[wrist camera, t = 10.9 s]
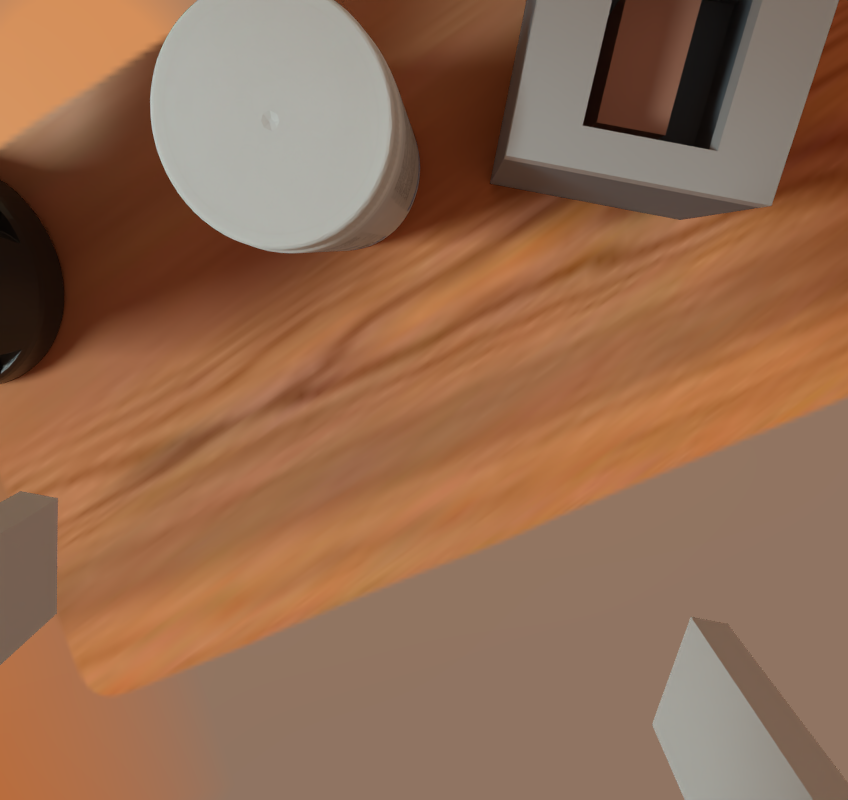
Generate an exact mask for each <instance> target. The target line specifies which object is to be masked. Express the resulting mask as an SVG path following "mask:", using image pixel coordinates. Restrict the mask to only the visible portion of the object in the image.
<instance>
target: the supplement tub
mask: <svg viewBox="0 0 848 800" xmlns="http://www.w3.org/2000/svg"><path fill="white" fill-rule="evenodd" d="M150 112H151V124H152V131H153V136H154V141H155V144H156V148H157V151H158V154H159V157H160V160H161V162H162V165H163V167H164V169H165V171H166V173H167V175H168V177H169V179H170V181H171V182H172V184H173V186H174V187H175V189H176V190H177V192H178V193H179V195H180V196H181V197H182V199H183V200H184V201H185V202H186V204H187V205H188V206H189V207H190V208H191V209H192V210H193V211H194V212H195V213H196V214H197V215H198V216H199V217H200V218H201V219H202V220H203V221H205V222H206V223H207V224H208V225H210V226H211V227H213V228H214V229H216V230H217V231H219V232H220V233H222V234H224V235H226V236H228V237H230V238H232V239H234V240H236V241H239V242H241V243H244V244H247V245H250V246H252V247H256V248H259V249H262V250H266V251H272V252H279V253H311V252H329V251H348V250H356V249H361V248H365V247H369V246H371V245H374V244H376V243H378V242H380V241H381V240H383V239H385V238H386V237H387V236H389V235H390V234H391V233H392V232H394V231H395V230H396V229H397V228H398V227H399V226H400V224H401V223H402V222H403V220H404V219H405V217H406V216H407V214H408V213H409V211H410V209H411V207H412V205H413V202H414V199H415V196H416V193H417V190H418V185H419V178H420V159H419V151H418V147H417V143H416V139H415V136H414V133H413V130H412V128H411V125H410V122H409V119H408V116H407V113H406V111H405V108H404V105H403V102H402V99H401V96H400V93H399V90H398V87H397V85H396V83H395V80H394V78H393V75H392V73H391V71H390V69H389V67H388V65H387V62H386V60H385V59H384V57H383V55H382V54H381V52H380V50H379V49H378V47H377V46H376V44H375V43H374V42H373V40H372V39H371V37H370V36H369V35H368V34H367V33H366V31H365V30H364V29H363V27H362V26H361V25H360V24H359V22H358V21H357V20H356V19H355V18H354V17H353V16H352V15H351V14H350V13H349V12H348V11H347V10H346V9H345V8H343V7H342V6H341V5H340V4H339V3H337V2H336V1H334V0H197V1H196V2H195V3H194V4H193V5H192V6H190V7H189V8H188V9H187V10H186V11H185V12H184V13H183V15H182V16H181V17H180V18H179V19H178V21H177V22H176V23H175V25H174V26H173V27H172V29H171V31H170V32H169V34H168V36H167V37H166V39H165V41H164V43H163V46H162V48H161V50H160V53H159V56H158V58H157V61H156V65H155V69H154V73H153V78H152V84H151V95H150Z"/></svg>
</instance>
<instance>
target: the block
mask: <svg viewBox="0 0 848 800" xmlns="http://www.w3.org/2000/svg"><path fill="white" fill-rule="evenodd" d="M701 1H702V0H619V1H618V3H617V4H616V6H615V7H614V9H613V10H612V12H611V13H610V15H609V16H608V20H607V24H606V28H605V32H604V36H603V41H602V45H601V49H600V53H599V58H598V62H597V66H596V70H595V75H594V79H593V83H592V87H591V92H590V96H589V100H588V104H587V109H586V113H585V117H584V121H583V126H588V127H593V128H598V129H604V130H609V131H614V132H619V133H625V134H630V135H635V136H640V137H645V138H651V139H656V140H658V139H659V138H661V137H663V136H665V135H666V131H667V127H668V124H669V120H670V116H671V112H672V109H673V105H674V101H675V98H676V94H677V90H678V86H679V83H680V79H681V75H682V72H683V68H684V64H685V60H686V57H687V53H688V49H689V46H690V42H691V38H692V34H693V31H694V27H695V23H696V19H697V16H698V12H699V8H700V5H701Z"/></svg>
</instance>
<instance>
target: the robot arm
mask: <svg viewBox="0 0 848 800" xmlns="http://www.w3.org/2000/svg"><path fill="white" fill-rule="evenodd" d="M63 306H64V287H63V278H62V272H61V268H60V264H59V260H58V257H57V254H56V251H55V249H54V246H53V244H52V242H51V240H50V237H49V235H48V234H47V232H46V230H45V228H44V226H43V225H42V223H41V222H40V220H39V219H38V217H37V216H36V214H35V213H34V212H33V210H32V209H31V208H30V207H29V206H28V204H27V203H26V202H25V201H24V200H23V199H22V198H21V197H20V196H19V195H18V194H17V193H16V192H15V191H14V190H13V189H12V188H10V187H9V186H8V185H7V184H6V183H4V182H3V181H1V180H0V384H2V383H5V382H8V381H11V380H13V379H15V378H17V377H19V376H21V375H23V374H24V373H26V372H28V371H29V370H30V369H32V368H33V367H34V366H35V365H36V364H37V363H38V362H39V361H40V360H41V359H42V358H43V357H44V356H45V354H46V353H47V352H48V350H49V349H50V347H51V345H52V344H53V342H54V340H55V338H56V335H57V333H58V330H59V327H60V323H61V319H62V314H63ZM57 517H58V498H54V497H48V496H43V495H38V494H32V493H27V492H22V491H20V492H18V493H17V494H15V495H13V496H11V497H9V498H8V499H6V500H4V501H2V502H0V665H1V664H2V663H3V662H4V661H5V660H6V659H7V658H8V657H9V656H11V655H12V654H13V653H14V652H15V651H16V650H17V649H18V648H19V647H20V646H22V645H23V644H24V643H25V642H26V641H27V640H28V639H29V638H30V637H31V636H32V635H34V634H35V633H36V632H37V631H38V630H39V629H40V628H41V627H42V626H43V625H45V624H46V623H47V622H48V621H49V620H50V619H51V618H52V617H53V616H54V615H55V614H57ZM652 725H653V727H654V730H655V732H656V734H657V737H658V739H659V741H660V743H661V746H662V748H663V751H664V753H665V755H666V757H667V760H668V762H669V764H670V766H671V769H672V771H673V774H674V776H675V778H676V781H677V783H678V785H679V788H680V790H681V792H682V794H683V797H684V799H685V800H848V782H847V781H846V780H845V778H844V777H843V776H842V774H841V773H840V772H839V770H838V769H837V768H836V766H835V765H834V764H833V762H832V761H831V760H830V758H829V757H828V756H827V755H826V753H825V752H824V751H823V749H822V748H821V747H820V745H819V744H818V743H817V742H816V740H815V739H814V737H813V736H812V735H811V734H810V732H809V731H808V730H807V728H806V727H805V725H804V724H803V723H802V721H801V720H800V719H799V717H798V716H797V715H796V713H795V712H794V711H793V709H792V708H791V707H790V705H789V704H788V703H787V702H786V700H785V699H784V698H783V697H782V695H781V694H780V692H779V691H778V690H777V688H776V687H775V686H774V684H773V683H772V682H771V680H770V679H769V678H768V676H767V675H766V674H765V672H764V671H763V670H762V668H761V667H760V666H759V665H758V663H757V662H756V661H755V659H754V658H753V657H752V655H751V654H750V653H749V652H748V650H747V649H746V647H745V646H744V645H743V643H742V642H741V641H740V639H739V638H738V637H737V635H736V634H735V633H734V631H733V630H732V629H731V628H730V626H729V625H728V624H726V623H721V622H715V621H711V620H705V619H700V618H695V617H691V618H690V621H689V624H688V626H687V629H686V632H685V635H684V637H683V641H682V643H681V646H680V649H679V651H678V654H677V657H676V660H675V663H674V666H673V668H672V671H671V674H670V676H669V679H668V682H667V685H666V688H665V690H664V693H663V696H662V699H661V701H660V704H659V707H658V710H657V713H656V715H655V718H654V721H653V724H652Z"/></svg>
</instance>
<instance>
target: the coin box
mask: <svg viewBox="0 0 848 800" xmlns="http://www.w3.org/2000/svg"><path fill="white" fill-rule="evenodd" d="M618 1H619V0H527V1H526V6H525V11H524V16H523V21H522V26H521V31H520V36H519V41H518V46H517V51H516V56H515V61H514V66H513V71H512V76H511V81H510V86H509V91H508V96H507V101H506V106H505V111H504V116H503V121H502V126H501V131H500V136H499V141H498V146H497V151H496V156H495V161H494V166H493V171H492V176H491V181H490V184H495V185H500V186H505V187H511V188H516V189H521V190H526V191H532V192H537V193H542V194H547V195H553V196H558V197H563V198H568V199H574V200H579V201H584V202H590V203H595V204H600V205H605V206H611V207H616V208H621V209H626V210H632V211H637V212H642V213H647V214H653V215H658V216H663V217H668V218H674V219H679V220H682V219H688V218H695V217H702V216H708V215H715V214H721V213H728V212H734V211H741V210H748V209H754V208H761V207H767V206H771V205H772V202H773V199H774V196H775V193H776V190H777V187H778V184H779V181H780V178H781V175H782V172H783V169H784V166H785V163H786V160H787V157H788V154H789V151H790V148H791V145H792V142H793V139H794V136H795V132H796V129H797V126H798V123H799V120H800V117H801V114H802V111H803V108H804V105H805V102H806V99H807V96H808V93H809V90H810V87H811V84H812V81H813V78H814V75H815V72H816V69H817V66H818V63H819V60H820V57H821V53H822V50H823V47H824V44H825V41H826V38H827V35H828V32H829V29H830V26H831V23H832V20H833V17H834V14H835V11H836V8H837V5H838V2H839V0H702V1H701V5H700V8H699V12H698V16H697V19H696V23H695V27H694V31H693V34H692V38H691V42H690V46H689V49H688V53H687V57H686V60H685V64H684V68H683V72H682V75H681V79H680V83H679V86H678V90H677V94H676V98H675V101H674V105H673V109H672V112H671V116H670V120H669V124H668V127H667V131H666V135H665V136H663V137H661V138H659V139H658V140H656V139H651V138H645V137H640V136H635V135H630V134H625V133H619V132H614V131H609V130H604V129H598V128H593V127H588V126H583V121H584V117H585V113H586V109H587V104H588V100H589V96H590V92H591V87H592V83H593V79H594V75H595V70H596V66H597V62H598V58H599V53H600V49H601V45H602V41H603V36H604V32H605V28H606V24H607V20H608V16H609V15H610V13H611V12H612V10H613V9H614V7H615V6H616V4H617V3H618Z"/></svg>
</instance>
